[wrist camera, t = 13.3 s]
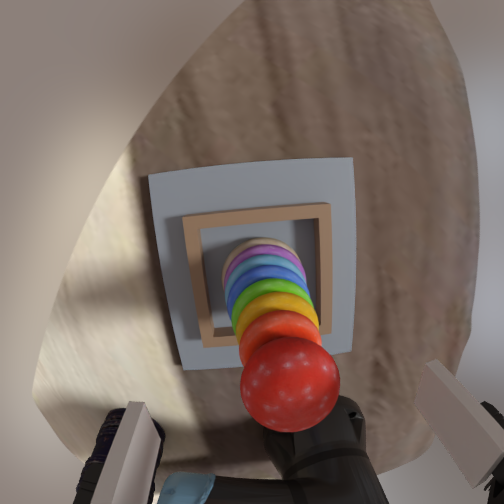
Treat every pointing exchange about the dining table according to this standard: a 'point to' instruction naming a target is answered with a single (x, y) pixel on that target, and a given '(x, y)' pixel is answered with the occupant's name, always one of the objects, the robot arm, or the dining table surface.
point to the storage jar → (106, 440)
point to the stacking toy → (278, 337)
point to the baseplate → (248, 227)
